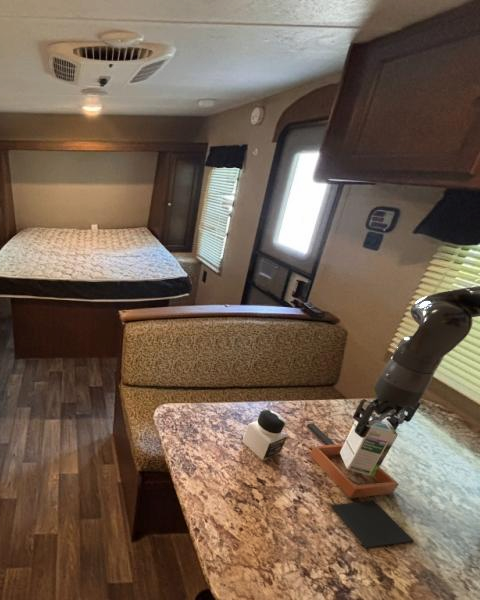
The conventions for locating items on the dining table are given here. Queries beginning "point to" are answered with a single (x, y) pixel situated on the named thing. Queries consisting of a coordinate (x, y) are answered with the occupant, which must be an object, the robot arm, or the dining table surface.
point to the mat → (371, 524)
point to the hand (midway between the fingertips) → (373, 433)
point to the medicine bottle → (266, 435)
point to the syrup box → (368, 447)
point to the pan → (330, 448)
